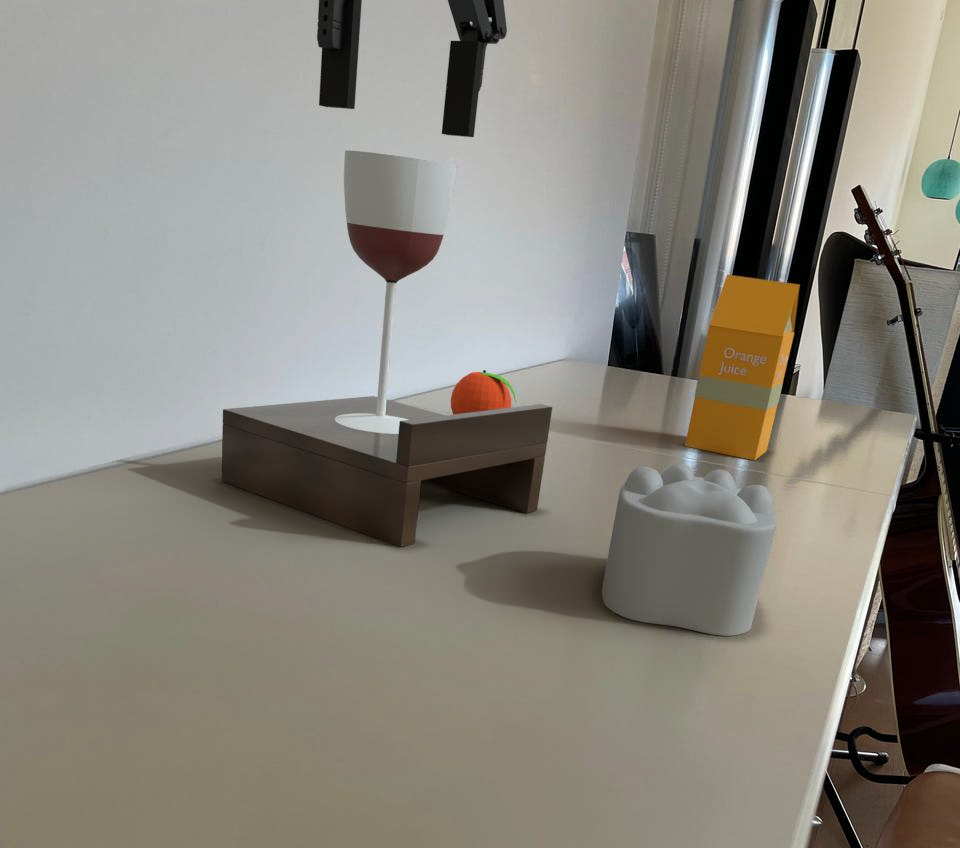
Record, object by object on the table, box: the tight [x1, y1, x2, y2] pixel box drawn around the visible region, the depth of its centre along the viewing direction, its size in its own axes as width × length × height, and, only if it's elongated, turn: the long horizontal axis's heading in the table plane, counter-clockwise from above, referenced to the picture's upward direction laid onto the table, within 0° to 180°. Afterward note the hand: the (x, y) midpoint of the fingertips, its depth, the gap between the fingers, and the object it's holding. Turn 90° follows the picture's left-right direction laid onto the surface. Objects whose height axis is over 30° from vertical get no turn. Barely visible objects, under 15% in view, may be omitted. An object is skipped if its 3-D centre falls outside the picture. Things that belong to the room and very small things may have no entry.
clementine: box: [450, 369, 517, 415], centre depth 112 cm, size 8×7×7 cm
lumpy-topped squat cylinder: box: [601, 463, 777, 637], centre depth 68 cm, size 10×13×9 cm
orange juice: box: [684, 274, 801, 461], centre depth 119 cm, size 8×9×20 cm
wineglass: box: [335, 150, 457, 434], centre depth 78 cm, size 8×9×20 cm
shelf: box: [221, 395, 553, 548], centre depth 82 cm, size 20×18×9 cm
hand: (401, 123), depth 73 cm, fingers open, 13 cm apart
